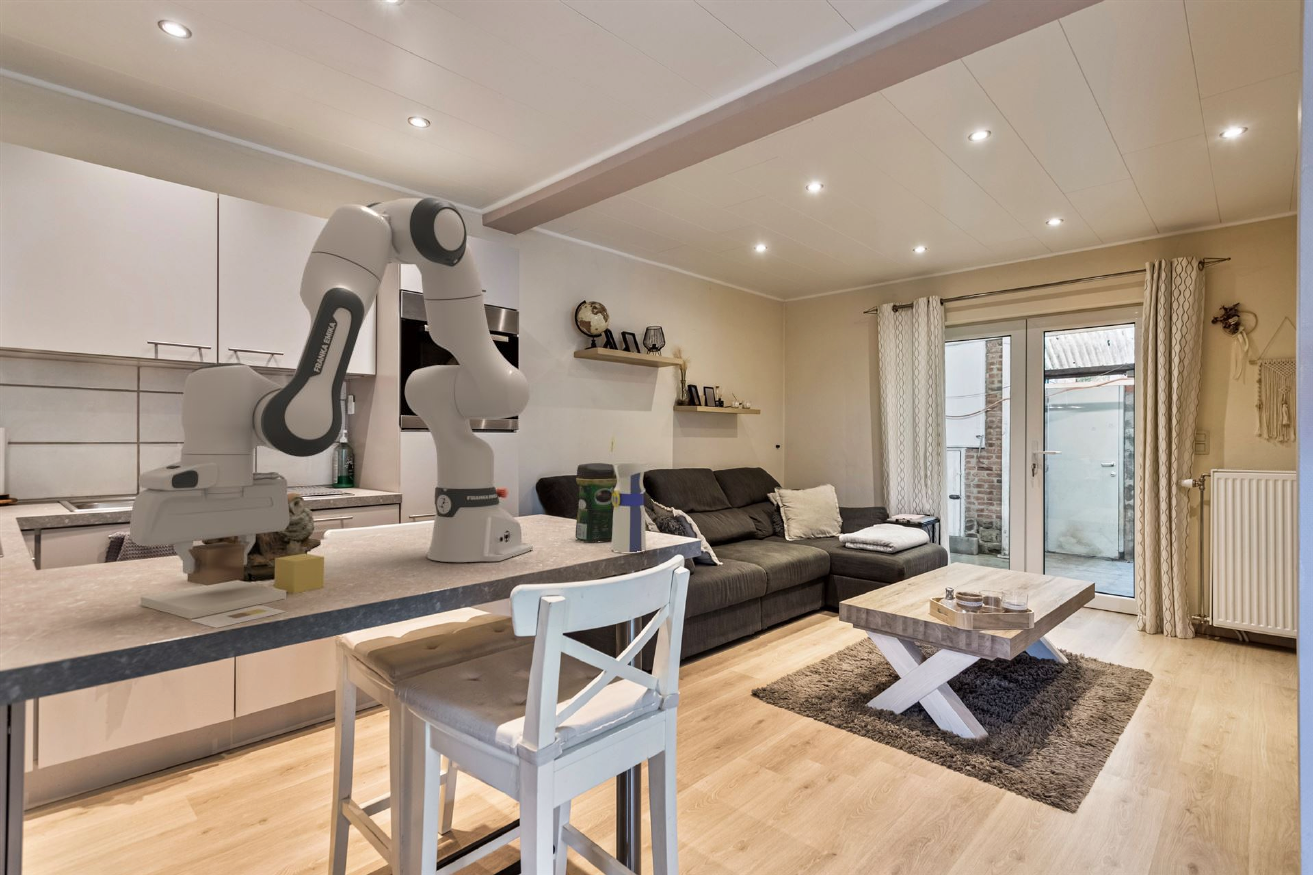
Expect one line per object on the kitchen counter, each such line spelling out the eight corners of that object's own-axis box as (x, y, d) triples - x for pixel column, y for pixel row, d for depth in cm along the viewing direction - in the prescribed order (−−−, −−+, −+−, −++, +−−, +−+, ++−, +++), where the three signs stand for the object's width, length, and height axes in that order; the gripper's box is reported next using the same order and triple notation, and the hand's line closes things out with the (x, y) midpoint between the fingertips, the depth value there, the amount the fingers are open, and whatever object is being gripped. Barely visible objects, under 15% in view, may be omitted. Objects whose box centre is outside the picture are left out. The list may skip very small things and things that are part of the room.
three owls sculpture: (206, 588, 104) (207, 481, 104) (194, 576, 113) (195, 477, 113) (328, 573, 116) (329, 476, 116) (309, 563, 125) (309, 473, 125)
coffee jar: (604, 536, 164) (606, 462, 164) (621, 540, 158) (622, 463, 157) (570, 539, 159) (571, 462, 159) (585, 544, 152) (587, 464, 152)
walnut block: (224, 575, 99) (224, 542, 99) (243, 579, 96) (244, 545, 96) (187, 581, 94) (188, 546, 94) (206, 585, 92) (207, 549, 92)
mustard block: (304, 583, 108) (305, 553, 108) (323, 587, 106) (324, 556, 106) (274, 589, 104) (275, 558, 104) (293, 594, 101) (294, 561, 101)
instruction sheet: (259, 605, 94) (259, 604, 94) (285, 611, 91) (285, 610, 91) (190, 620, 86) (190, 619, 86) (216, 628, 83) (216, 626, 83)
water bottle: (619, 555, 139) (621, 437, 139) (603, 548, 146) (605, 436, 146) (654, 552, 142) (656, 437, 142) (636, 546, 150) (638, 437, 150)
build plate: (236, 587, 104) (236, 579, 104) (286, 598, 98) (286, 590, 98) (140, 605, 93) (141, 596, 93) (190, 618, 87) (190, 609, 87)
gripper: (274, 470, 106) (273, 556, 106) (124, 475, 88) (122, 578, 88) (299, 472, 103) (297, 560, 103) (149, 477, 85) (146, 584, 85)
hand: (215, 569), depth 95 cm, fingers closed on walnut block, 5 cm apart
